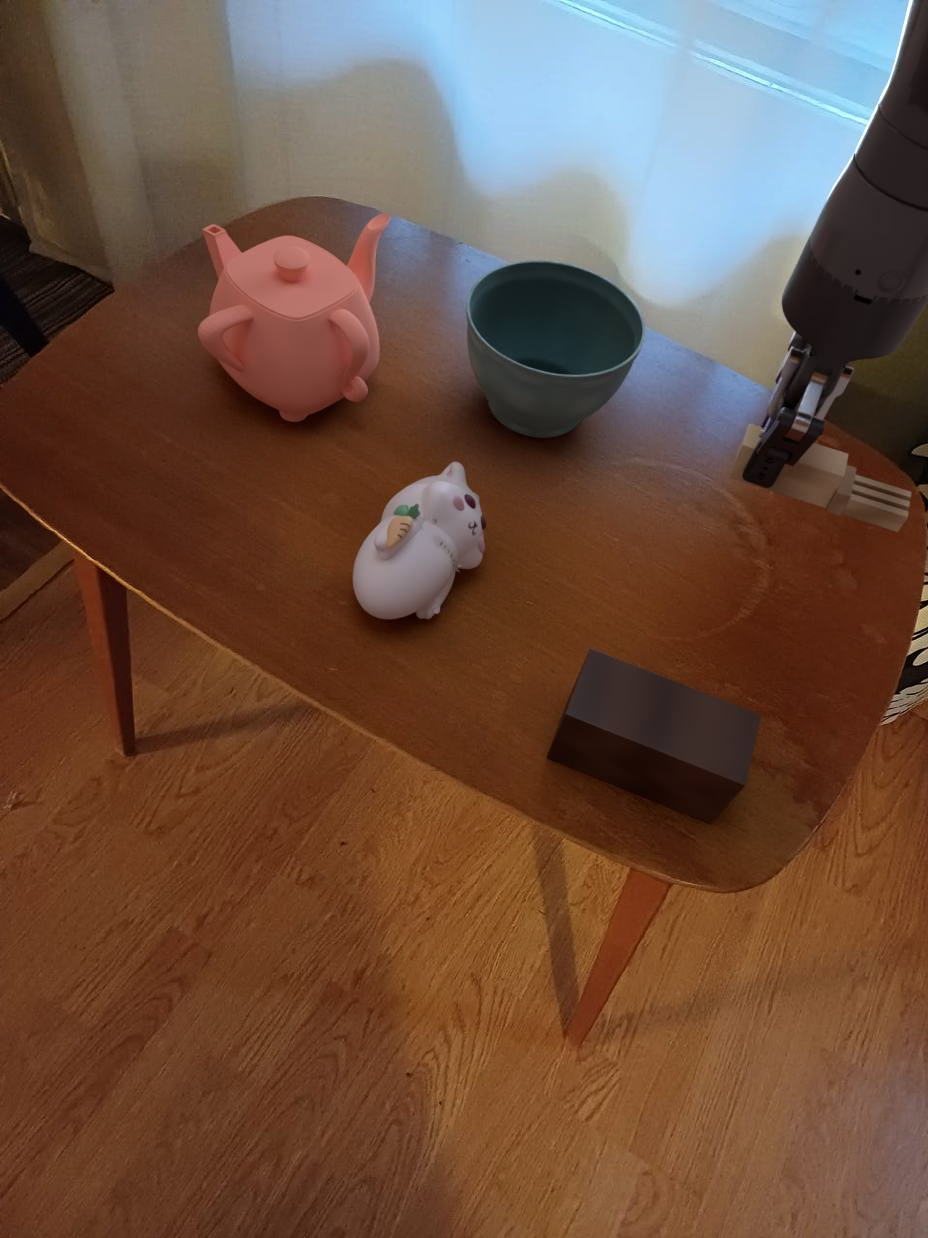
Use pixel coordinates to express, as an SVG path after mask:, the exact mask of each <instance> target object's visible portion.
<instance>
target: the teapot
mask: <svg viewBox="0 0 928 1238" xmlns="http://www.w3.org/2000/svg"><path fill="white" fill-rule="evenodd" d="M390 221H391V214H389V213H387V212H383V213H380V214H378V215H375V216H374V217H373V218H371V219H370V220H368V222H367V223H366V225H365V226H364V228H363V229H362V231H361V232H360V234H359V237H358V238H357V240H356V243H355V246H354V248H353V251H352V253H351V255H350V258H349V260H348V262H347V264H345V263H344V262H343V261H341V260H340V259H339V258H338V257H336V256H335V255H334V254H333V253H331V252H330V251H328V250H326V249H325V248H322V246H319V245H317V244H315V243H313V242H311V241H309V240H307V239H305V238H302V237H298V236H294V235H281V236H277V237H274V238H271V239H269V240H266V241H264V242H262V243H260V244H257V245H255V246H253V247H251V248H249V249H247V250H245V251H243V252H242V251H241V250H240V249H239V247H238V246H237V245H236V243H235V242H234V241H233V240H232V238H231V237H230V235H229V234H228V233H227V230H226V229H224V228H223V227H221V226H219V225H217V224H215V223H212V224H210V225H208V226H206V227H204V228H202V233H203V236H204V239H205V242H206V245H207V249H208V252H209V256H210V258H211V261H212V264H213V267H214V270H215V273H216V276H217V279H218V281H217V283H216V286H215V288H214V291H213V295H212V299H211V302H210V308H209V315H208V316H207V317H206V318H204V319H203V320H202V321H201V322H200V323H199V326H198V327H197V328H198V329H197V335H198V339H199V341H200V343H201V345H202V346H203V347H204V349H205V350H206V351H207V352H208V353H209V354H210V355H212V356H213V357H214V358H215V359H217V361H218V363H219V364H220V365H221V367H222V368H223V369H224V370H225V371H226V373H228V375H229V376H230V377H231V378H232V379H233V381H234V382H236V383H237V384H238V386H240V387H241V388H242V389H243V390H244V391H245V392H246V393H248V394H250V395H251V396H252V397H254V398H255V399H257V400H258V401H260V402H262V403H264V404H265V405H267V406H270V407H271V408H274V409H275V410H277V411H279V415H280V417H281V418H282V419H283V420H285V421H286V422H293V423H297V422H301V421H304V420H305V419H306V418H307V417H308V416H309V415H312V414H314V413H317V412H319V411H322V410H323V409H324V410H325V409H326V408H328V407H330V406H331V405H333V404H335V403H337V402H339V401H341V400H343V398H345V399H346V400H348V401H350V402H353V403H358V402H362V401H363V400H365V399H366V397H367V396H368V393H369V387H368V386H367V384H366V381H367V379H368V378H369V377H370V376H371V375H372V373H373V372H374V370H375V369H376V368H377V366H378V364H379V360H380V337H379V330H378V326H377V322H376V318H375V315H374V312H373V309H372V307H371V304H370V302H371V300H372V298H373V294H374V291H375V284H376V283H375V282H376V256H377V248H378V243H379V240H380V238H381V236H382V233H383V232H384V230H385V229H386V227H387V226H388V224H389V222H390Z"/></svg>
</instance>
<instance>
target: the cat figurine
mask: <svg viewBox="0 0 928 1238" xmlns="http://www.w3.org/2000/svg"><path fill="white" fill-rule="evenodd" d="M480 502H481V501H480V496H479V495H478V494H477V493H476V492H474V491H472V489H470V487H469V486H468V482H467V478H466V471H465V468H464V466H463V464H462V463H460V462H459V461H452V462H451V463H449V464H448V466H446V468H444V469H443V471H442V472H441V473H440V474H439V475H431V476H427V477H424V478H421V479H418V480H416V481H414V482H412V483H410V484H409V485H407V486H405V487H404V488H403V489H401V490H400V491H399V492H397V493H396V494H395V495H394V496H393V497H391V499H390V500H389V501H388V503H387V504H386V505H385V507H384V510H383V512H382V515H381V519H380V522H379V523H378V524H377V525H376V526H375V527H374V528H373V529H372V531H371V532H370V533H369V534H368V535H367V537H366V538H365V539H364V541H363V542H362V544H361V546H360V548H359V550H358V552H357V554H356V557H355V560H354V563H353V569H352V587H353V591H354V595H355V597H356V600H357V602H358V603H359V605H360V607H361V608H362V609H363V610H364V611H365V612H366V613H368V614H369V615H371V616H373V617H375V618H378V619H381V620H397V619H400V618H404V617H408V616H410V615H412V614H414V613H415V615H416V617H417V618H418V619H426V620H430V619H431V618H433V616H435V615H438V614H439V613H440V612H441V606H442V605H443V603H444V602H445V600H446V598H447V596H448V595H449V593H450V591H451V589H452V586H453V583H454V581H455V576H456V572H458V573H461V571H460V569H462V570H471V569H474V568H477V567H478V566H479V565H480V564H481V562H482V560H483V556H484V552H485V550H486V543H485V539H484V538H485V537H484V536H485V535H484V533H485V532H484V530H485V529H486V528H487V521H486V518H485V517H484V516H483V511H482V507H481V505H480Z"/></svg>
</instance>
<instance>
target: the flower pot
mask: <svg viewBox="0 0 928 1238" xmlns="http://www.w3.org/2000/svg"><path fill="white" fill-rule="evenodd" d="M465 311H466V323H467V326H466V342H467V350H468V356H469V362H470V366H471V369H472V372H473V375H474V377H475V380H476V382H477V385H478V386H479V389H480V390H481V392H482V393H483V395H484V396H485V398H486V399H487V403H488V408H489V409H490V411H491V414H492V415H493V416H494V418H495V419H496V420H497V421H498V422H499V423H501V425H503V426H504V427H506V428H507V429H509V430H511V431H513V432H516V433H517V434H520V435H523V436H526V437H531V438H541V439H545V438H547V439H548V438H554V437H558V436H563V435H564V434H567V433H570V431H572V430H573V429H574V428H576V427H577V426H578V425H579V423H580V422H582V421H584V420H585V419H587V418H589V417H591V416H592V415H594V414H595V413H596V412H598V411H599V410H600V409H601V408H602V407H604V406H605V405H606V404H607V403H608V402H609V401H610V399H612V397H613V396H614V395H615V394H616V393H617V392H618V391H619V389H620V388H621V386H622V385H623V383H624V382H625V380H626V378H627V376H628V375H629V372H630V371H631V369H632V366H633V364H634V361H636V359H637V357H639V354H640V352H641V350H642V347H643V345H644V342H645V340H646V334H647V333H646V322H645V318H644V316H643V314H642V311H641V310H640V308H639V307H638V305H637V303H636V302H635V301H634V299H633V298H632V297H630V296H629V294H628V293H627V292H625V291H624V290H623V289H622V288H621V287H619V285H617V284H616V283H615V282H613V281H611V280H610V279H609V278H607V277H604V275H601V274H599V273H597V272H595V271H592V270H590V269H587V268H585V267H582V266H578V265H575V264H572V263H568V262H561V261H556V260H546V259H542V260H541V259H540V260H537V259H535V260H521V261H520V260H519V261H514V262H510V263H506V264H503V265H500V266H498V267H496V268H493V269H491V270H490V271H488V272H486V273H485V274H483V275H482V276H481V277H480V278H479V279H477V280H476V282H475V283H474V284H473V285H472V286H471V289H470V290H469V293H468V295H467V300H466V309H465Z"/></svg>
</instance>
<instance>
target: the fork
mask: <svg viewBox="0 0 928 1238" xmlns="http://www.w3.org/2000/svg"><path fill="white" fill-rule="evenodd" d="M760 426H761V425H756V424H753V423H749V424H748V425H747V427H746V430H745V432H744V435H743V437H742V440H741V441H740V444H739V446H738V449H737V450H736V451H737V452H736V453H735V456H734V459H733V463H732V466H731V469H730V472H729V475H728V477H729V479H731V480H732V479H733V480H736V481H738V482H741V483H742V482H743V483H745V484H748V485H750V486H751V485H752V486H754V487H758V488H761V489H765V490H767V491H770V492H772V493H773V492H774V493H776V494H780V495H782V496H786V497H789V498H792V499H795V500H798V501H801V502H804V503H808V504H811V505H814V506H817V507H821V508H823V509H825V512H826V513H829V514H833V515H836V516H846V517H849V518H852V519H855V520H858V521H861V522H864V523H868V524H871V525H874V526H877V527H880V528H883V529H886V530H889V531H893V532H894V533H895V532H896V533H898V532H900V530H901V529H902V527H903V525H904V524H905V522H906V521H907V520H908V518H909V511H908V510H909V509H910V505H911V501H910V500H911V498H912V491H910V490H908V489H903V488H900V487H898V486H894V485H891V484H887V483H884V482H880V481H877V480H875V479H871V478H868V477H865V476H861V475H859V474H856V473H857V470H858V469H857V467H855V466H851V465H848V460H849V455H850V454H849V453H847V452H844V451H841V450H837V449H833V448H831V447H828V446H824V445H821V444H819V443H815V442H814V443H813V444H812V446H811V447H810V448H809V449H808V450H807V451H806V452H805V453H804V455H803V456H802V457H801V458H800V459H799V460H798V462H797V463H796V464H795V465H794V466H790V465H787V464H786V463H785V465H784V467H783V469H782V470H781V472H780V474H779V476H778V477H777V479H776V481H775V483H774V484H773V486H772V487H770V488H764V487H761V486H758V485H756V484H753V483H750V482H747V481H745V480H744V479H743V477H742V474H743V471H744V468H745V466H746V464H747V462H748V460H749V458H750V457H751V455H752V453H753V451H754V449H755V447H756V445H757V443H758V441H759V439H760V437H758V436H759V434H760V432H761V430H763V429H764V428H762V427H760Z"/></svg>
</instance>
